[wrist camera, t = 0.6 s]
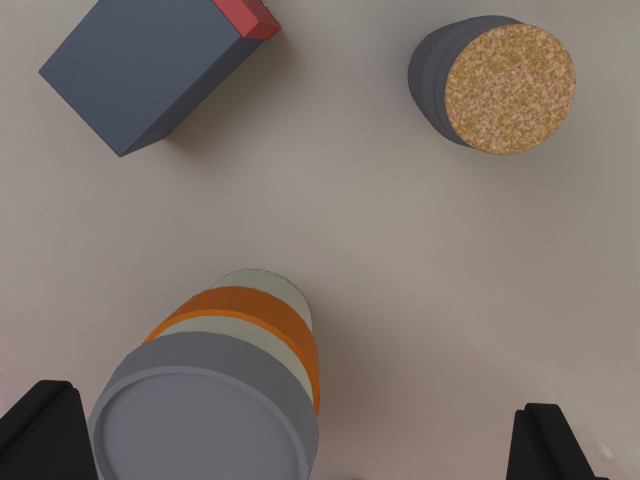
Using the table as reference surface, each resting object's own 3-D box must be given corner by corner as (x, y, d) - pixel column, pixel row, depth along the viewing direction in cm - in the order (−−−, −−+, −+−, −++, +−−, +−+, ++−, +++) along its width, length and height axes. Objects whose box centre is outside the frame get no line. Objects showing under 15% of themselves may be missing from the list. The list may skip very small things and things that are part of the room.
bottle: (390, 57, 33) (401, 64, 19) (475, 5, 31) (555, -29, 17) (432, 136, 34) (471, 196, 20) (515, 89, 33) (617, 121, 19)
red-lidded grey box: (163, 141, 36) (120, 160, 30) (94, 65, 35) (33, 69, 29) (281, 26, 33) (259, 21, 27) (209, -63, 31) (168, -90, 25)
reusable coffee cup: (317, 400, 43) (289, 570, 29) (173, 366, 43) (77, 518, 29) (350, 268, 38) (336, 394, 24) (189, 231, 39) (83, 334, 25)
